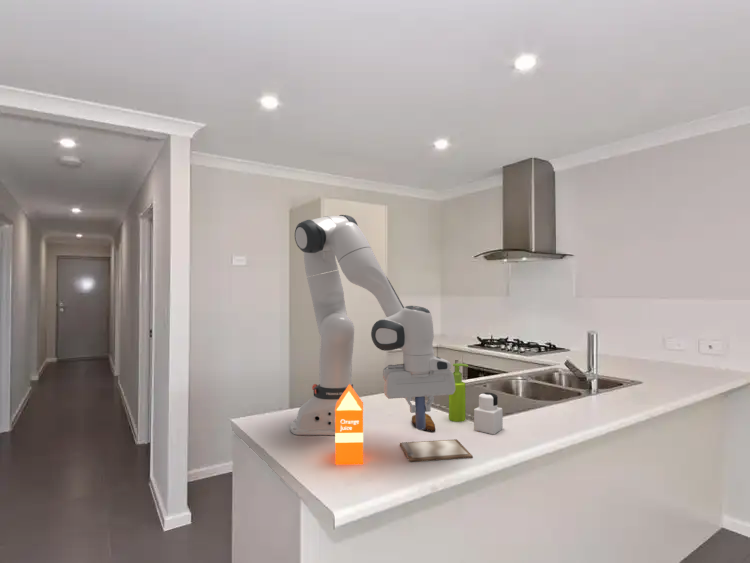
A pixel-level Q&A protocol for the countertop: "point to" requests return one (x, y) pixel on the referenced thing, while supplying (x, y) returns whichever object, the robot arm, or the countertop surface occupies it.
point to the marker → (420, 412)
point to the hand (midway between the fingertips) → (420, 411)
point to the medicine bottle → (488, 414)
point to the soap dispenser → (458, 397)
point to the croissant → (429, 422)
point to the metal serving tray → (434, 450)
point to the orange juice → (349, 429)
